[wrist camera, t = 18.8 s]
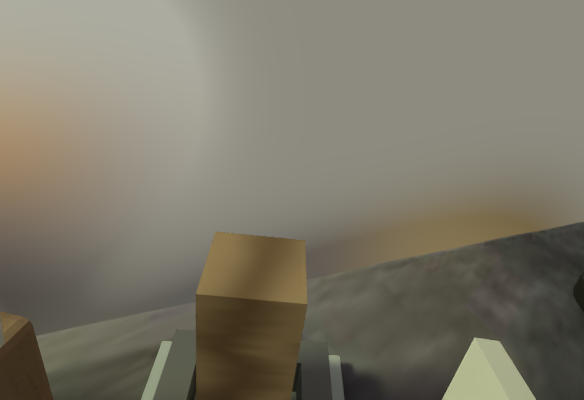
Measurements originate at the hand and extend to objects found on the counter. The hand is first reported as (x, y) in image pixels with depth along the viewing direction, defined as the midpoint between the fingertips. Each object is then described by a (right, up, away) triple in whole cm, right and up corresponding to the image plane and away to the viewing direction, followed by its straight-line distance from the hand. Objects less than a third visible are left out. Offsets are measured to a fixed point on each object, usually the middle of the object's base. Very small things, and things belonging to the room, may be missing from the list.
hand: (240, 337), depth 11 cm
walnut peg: (-3, -16, +22) cm, 27 cm away
